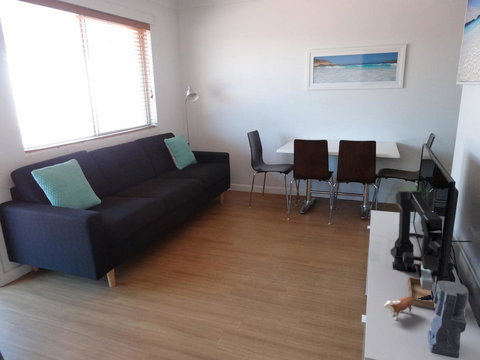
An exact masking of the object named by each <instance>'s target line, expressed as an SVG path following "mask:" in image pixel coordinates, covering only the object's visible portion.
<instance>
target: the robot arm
mask: <svg viewBox="0 0 480 360" xmlns="http://www.w3.org/2000/svg"><path fill="white" fill-rule="evenodd" d="M422 195H423V194H422V192H421V191H419V190H398V191H397V193H395V201H396V205H397V206H398V208H399V219H398V220H399V221H398V236H397V237H398V238H397V239H396V240H395V241H394V246H393V247H392V248H391V249H390V250H389V251H390V255H391V256H392V257H393V261H392V264H391V265H392V269H393V270H396V271H397V270H398V271H403V272H404V271H405V272H407V271H408V268H407V267H408V266H407V265H408V264H409V265H413V267H416V269H417V272H418V277H419V279H420V278H421V265H423V268H424V269H426V270H427V269H428V270H430V272H431V276H432V278H434V276H435V275H436V273H437V272H438V271H439V270H438V266H439V259H440V258H441V249H442V221H443V222H444V220H443V219H442V217H441V216H440V215H439V214H437V213H435V212H434V211H432V210H431V208H430V206H429V204H428V203H427V202H426V200H425V199H424V197H423V196H422ZM413 208H414V209H415V210H416V212H417V213H418V215H419V217H420V226H421V232H422V233H423V234H422V242H421V249H420V250H421V251H420V255H419V256H416V255H414V253H415V252H414V250H415V249H414V244H413V242H412V240H411V239H410V238H411V237H410V235H411V218H412V217H411V216H412V214H411V213H412V209H413ZM451 253H452V248H451V249H450V254H451ZM448 258H449V264H448V268H447V269H446V270H448V271H454V269H455V264H454V260H453V259H452V257H448ZM421 263H422V264H421ZM437 270H438V271H437Z"/></svg>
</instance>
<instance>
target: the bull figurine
mask: <svg viewBox="0 0 480 360" xmlns="http://www.w3.org/2000/svg"><path fill="white" fill-rule="evenodd" d="M412 302H413V301H412V299H411V297H410V296H409V295H408V296H404V297H402V298H399V299H397V300H396V299H395V300H392V301H391V299H388V300H387V301H386V302H385V304H383V308H384V309H389V310H390V311H391V313H392V315H391V316H392V317H394V318H393V320H394V321H398V317H399V314H400V313H403V311H406V310H407V309H408V312H407V315H411V314H412V309H413V307H412V306H413V305H412Z"/></svg>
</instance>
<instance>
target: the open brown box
mask: <svg viewBox="0 0 480 360" xmlns="http://www.w3.org/2000/svg"><path fill="white" fill-rule="evenodd" d="M407 287H408V297H409V296H410V297H411V299H412V301H413V302H412V305H411V306H416V307H423V308H427V309H434V302H433V301H427V300H421V299H418V298H421V297H424V296H427V295H431V290H425V289H422V287H421V281H420V278H418V277H413V276H412V277H410V276H408V278H407ZM434 310H435V309H434Z"/></svg>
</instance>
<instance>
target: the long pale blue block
mask: <svg viewBox="0 0 480 360" xmlns="http://www.w3.org/2000/svg"><path fill="white" fill-rule="evenodd" d="M419 279H420V281H421V287H422V289H425V290H431V291H432V284H433V281H434V280H433V277H432V276H431V270H428V269H427V270H426V269H424V268H423V264H421V278H420V277H419Z"/></svg>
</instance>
